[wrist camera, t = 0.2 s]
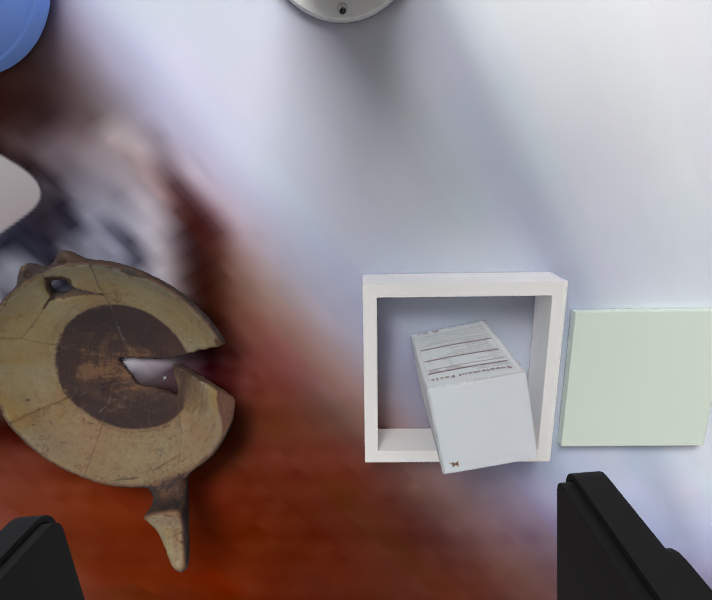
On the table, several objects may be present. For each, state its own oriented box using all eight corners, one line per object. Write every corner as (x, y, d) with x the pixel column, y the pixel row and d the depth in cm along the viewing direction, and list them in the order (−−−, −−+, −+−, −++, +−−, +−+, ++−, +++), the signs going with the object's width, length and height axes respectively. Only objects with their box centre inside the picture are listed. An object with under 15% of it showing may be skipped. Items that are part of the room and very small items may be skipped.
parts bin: (362, 274, 44) (362, 284, 41) (550, 271, 44) (568, 281, 40) (365, 439, 49) (365, 462, 45) (535, 438, 49) (549, 461, 45)
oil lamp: (240, 247, 44) (215, 263, 37) (248, 519, 52) (228, 576, 45) (2, 238, 44) (-71, 251, 37) (45, 510, 52) (-7, 566, 45)
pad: (571, 309, 45) (575, 312, 44) (721, 307, 45) (729, 310, 44) (557, 440, 49) (561, 446, 48) (696, 439, 48) (703, 445, 47)
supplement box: (495, 387, 47) (540, 462, 35) (421, 399, 48) (440, 478, 36) (485, 317, 45) (529, 371, 33) (409, 331, 46) (424, 389, 34)
